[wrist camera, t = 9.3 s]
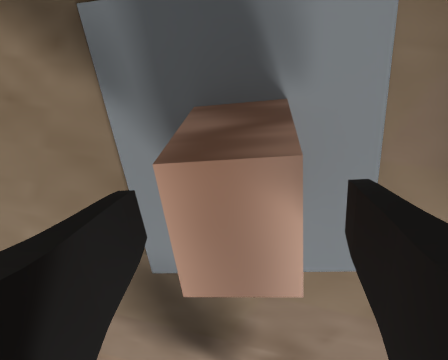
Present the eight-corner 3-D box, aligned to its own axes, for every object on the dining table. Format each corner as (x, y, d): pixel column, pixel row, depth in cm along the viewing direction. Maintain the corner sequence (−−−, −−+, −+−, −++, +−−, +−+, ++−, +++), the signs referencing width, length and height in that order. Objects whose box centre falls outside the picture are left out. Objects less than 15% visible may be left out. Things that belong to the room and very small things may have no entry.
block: (287, 98, 14) (302, 155, 8) (289, 201, 16) (303, 297, 10) (193, 106, 14) (152, 164, 9) (209, 204, 16) (183, 297, 11)
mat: (394, -41, 12) (403, -44, 11) (363, 260, 18) (367, 271, 17) (86, 4, 13) (76, 3, 13) (156, 264, 20) (152, 273, 19)
